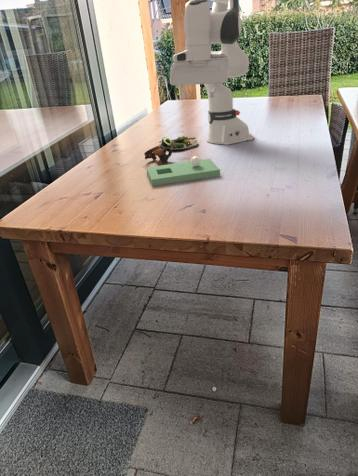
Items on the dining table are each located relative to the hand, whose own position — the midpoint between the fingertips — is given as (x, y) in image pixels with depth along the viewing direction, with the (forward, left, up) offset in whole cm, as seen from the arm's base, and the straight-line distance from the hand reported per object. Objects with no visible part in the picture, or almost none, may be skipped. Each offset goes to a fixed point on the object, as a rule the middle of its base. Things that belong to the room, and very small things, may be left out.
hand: (198, 98), depth 134 cm
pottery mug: (+14, -18, -28) cm, 36 cm away
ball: (+3, +1, -23) cm, 23 cm away
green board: (+8, +1, -27) cm, 29 cm away
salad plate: (+2, -38, -28) cm, 48 cm away
